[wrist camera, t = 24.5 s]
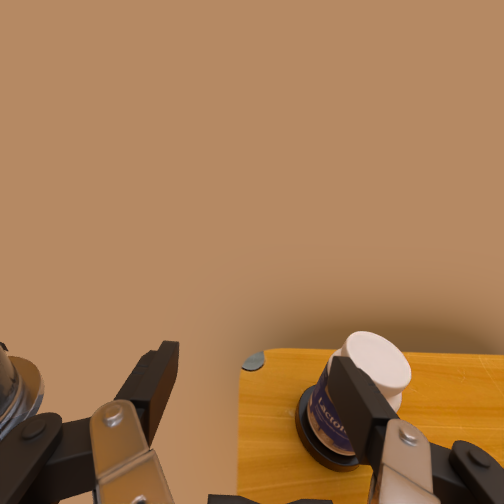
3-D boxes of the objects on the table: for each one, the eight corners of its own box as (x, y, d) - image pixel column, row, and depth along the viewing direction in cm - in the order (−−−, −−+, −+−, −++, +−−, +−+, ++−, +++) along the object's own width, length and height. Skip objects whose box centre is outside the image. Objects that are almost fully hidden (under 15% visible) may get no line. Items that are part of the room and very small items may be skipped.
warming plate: (339, 494, 19) (345, 488, 18) (281, 415, 24) (284, 407, 23) (379, 437, 23) (386, 430, 22) (323, 379, 28) (327, 371, 27)
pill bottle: (298, 431, 21) (331, 363, 16) (314, 380, 26) (345, 315, 21) (363, 474, 19) (425, 413, 14) (369, 410, 24) (417, 347, 19)
